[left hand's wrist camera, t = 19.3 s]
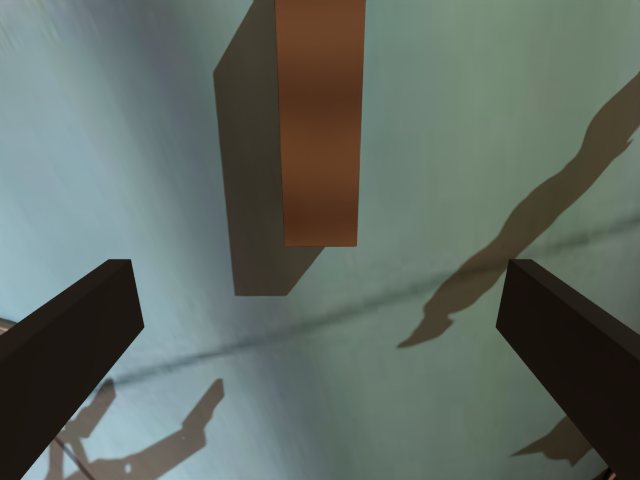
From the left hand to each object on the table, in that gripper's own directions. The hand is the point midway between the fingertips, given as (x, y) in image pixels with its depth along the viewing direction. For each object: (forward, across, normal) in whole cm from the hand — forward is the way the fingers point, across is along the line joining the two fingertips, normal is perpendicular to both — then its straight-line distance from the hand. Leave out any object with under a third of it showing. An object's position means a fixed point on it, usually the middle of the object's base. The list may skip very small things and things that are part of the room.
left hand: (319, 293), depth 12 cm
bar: (+24, 0, -7) cm, 25 cm away
